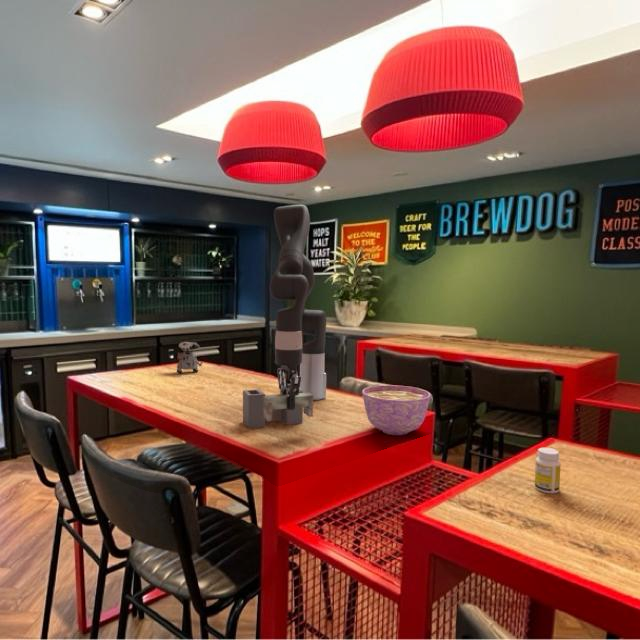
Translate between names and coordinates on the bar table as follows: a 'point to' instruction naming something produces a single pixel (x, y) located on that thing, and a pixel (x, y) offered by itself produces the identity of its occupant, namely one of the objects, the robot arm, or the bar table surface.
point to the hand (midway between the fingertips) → (288, 407)
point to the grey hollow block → (255, 410)
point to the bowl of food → (395, 407)
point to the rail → (281, 403)
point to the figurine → (188, 357)
